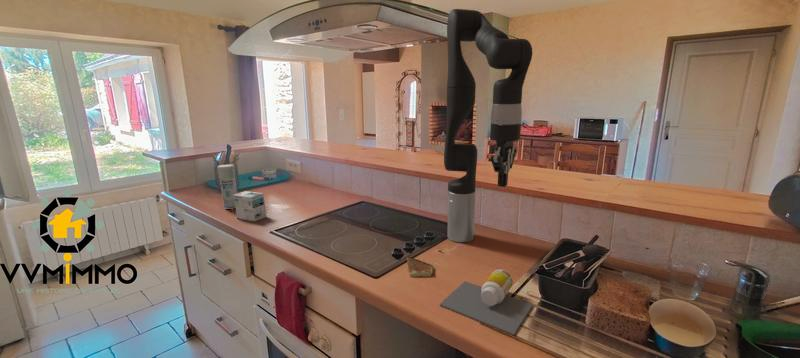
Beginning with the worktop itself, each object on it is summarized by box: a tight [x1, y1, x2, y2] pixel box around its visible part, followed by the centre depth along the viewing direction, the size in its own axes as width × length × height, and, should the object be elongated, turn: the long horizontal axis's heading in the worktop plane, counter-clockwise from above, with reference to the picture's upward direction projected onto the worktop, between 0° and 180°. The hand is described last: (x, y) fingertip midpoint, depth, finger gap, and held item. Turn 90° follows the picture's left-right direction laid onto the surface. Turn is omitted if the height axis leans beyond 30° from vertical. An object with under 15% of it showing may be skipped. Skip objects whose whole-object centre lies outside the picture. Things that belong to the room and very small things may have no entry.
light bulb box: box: [234, 190, 267, 223], centre depth 145 cm, size 11×7×11 cm, turn 65°
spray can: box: [217, 164, 238, 210], centre depth 157 cm, size 6×6×20 cm
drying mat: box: [439, 280, 534, 336], centre depth 82 cm, size 13×18×1 cm
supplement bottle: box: [481, 268, 514, 306], centre depth 84 cm, size 6×6×10 cm
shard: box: [406, 255, 435, 278], centre depth 101 cm, size 11×8×2 cm
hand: (502, 185), depth 93 cm, fingers closed
